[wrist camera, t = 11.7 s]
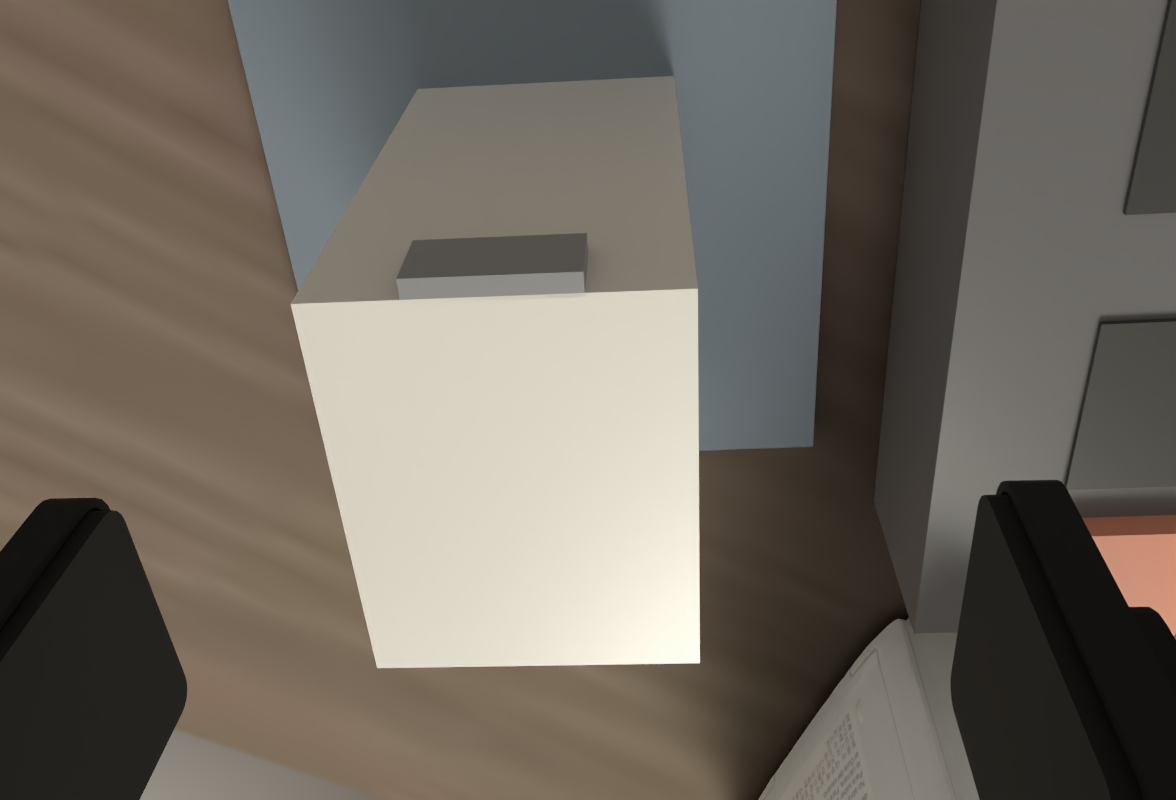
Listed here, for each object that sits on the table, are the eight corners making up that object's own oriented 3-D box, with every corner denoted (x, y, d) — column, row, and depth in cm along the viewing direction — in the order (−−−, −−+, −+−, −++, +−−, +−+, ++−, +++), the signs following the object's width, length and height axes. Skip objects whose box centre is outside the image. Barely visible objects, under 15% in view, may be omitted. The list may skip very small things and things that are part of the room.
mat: (834, -82, 17) (840, -76, 17) (808, 430, 22) (812, 446, 22) (231, -39, 18) (219, -32, 17) (346, 447, 23) (339, 463, 23)
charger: (673, 61, 18) (697, 268, 11) (678, 360, 21) (699, 662, 14) (415, 74, 18) (284, 283, 11) (458, 368, 21) (377, 667, 14)
